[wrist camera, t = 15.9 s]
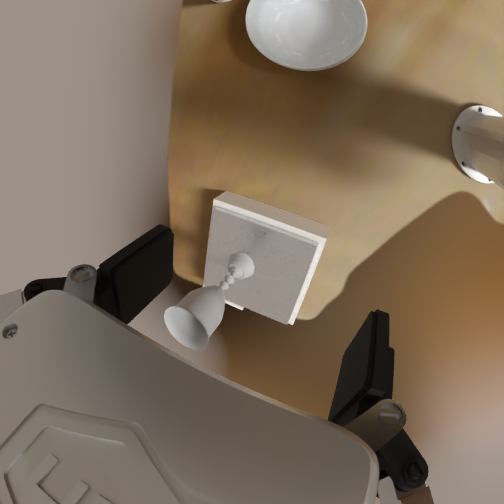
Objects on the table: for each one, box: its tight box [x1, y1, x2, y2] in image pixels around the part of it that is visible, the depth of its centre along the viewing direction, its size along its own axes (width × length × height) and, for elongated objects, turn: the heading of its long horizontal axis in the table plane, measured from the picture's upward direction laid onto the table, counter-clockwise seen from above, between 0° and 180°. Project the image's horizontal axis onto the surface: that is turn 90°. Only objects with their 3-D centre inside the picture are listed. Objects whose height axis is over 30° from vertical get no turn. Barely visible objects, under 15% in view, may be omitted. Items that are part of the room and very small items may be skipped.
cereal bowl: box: [245, 0, 367, 71], centre depth 30 cm, size 17×17×7 cm
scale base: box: [203, 191, 331, 325], centre depth 53 cm, size 20×21×6 cm
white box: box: [204, 207, 318, 325], centre depth 53 cm, size 18×21×6 cm
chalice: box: [164, 252, 255, 350], centre depth 43 cm, size 7×7×18 cm
